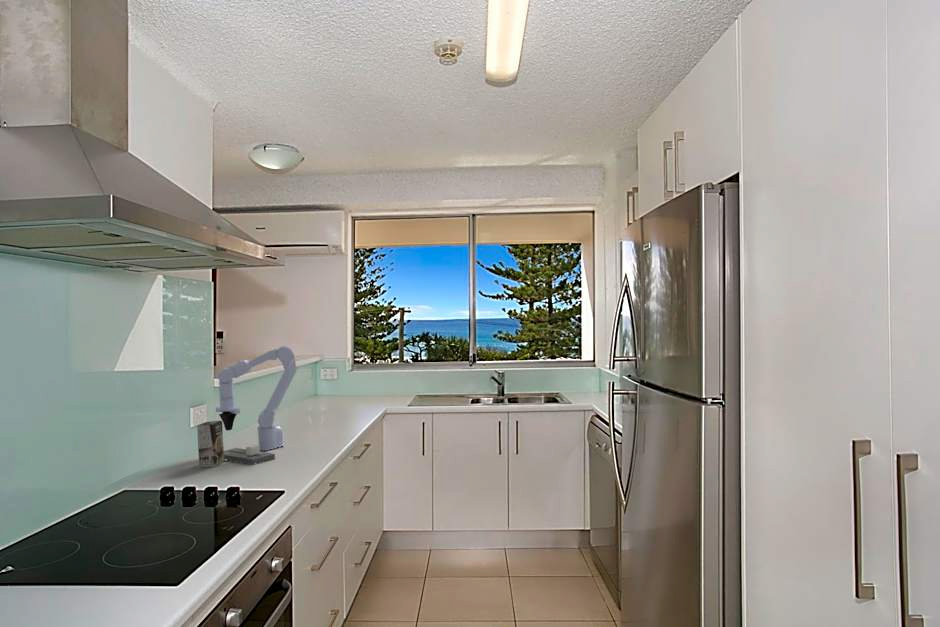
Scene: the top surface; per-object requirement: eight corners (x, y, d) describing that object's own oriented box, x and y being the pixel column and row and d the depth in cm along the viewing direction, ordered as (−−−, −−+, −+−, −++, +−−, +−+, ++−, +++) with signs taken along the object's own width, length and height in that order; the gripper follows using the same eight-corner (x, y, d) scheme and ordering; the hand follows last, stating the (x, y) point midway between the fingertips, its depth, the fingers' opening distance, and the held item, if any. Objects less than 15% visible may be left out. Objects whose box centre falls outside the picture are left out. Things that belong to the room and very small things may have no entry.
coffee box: (215, 467, 245) (213, 424, 245) (198, 468, 245) (196, 425, 245) (225, 461, 254) (222, 420, 254) (208, 462, 254) (206, 421, 254)
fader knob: (255, 452, 256) (255, 444, 256) (260, 453, 254) (259, 445, 254) (246, 454, 253) (245, 446, 253) (250, 455, 251) (250, 447, 251)
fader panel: (236, 452, 269) (236, 447, 269) (274, 458, 254) (274, 453, 254) (214, 457, 261) (214, 452, 261) (252, 464, 246) (252, 459, 246)
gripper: (208, 398, 271) (210, 430, 271) (228, 399, 262) (230, 433, 263) (223, 395, 277) (225, 427, 277) (243, 397, 268) (245, 429, 268)
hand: (228, 430), depth 270 cm, fingers closed
